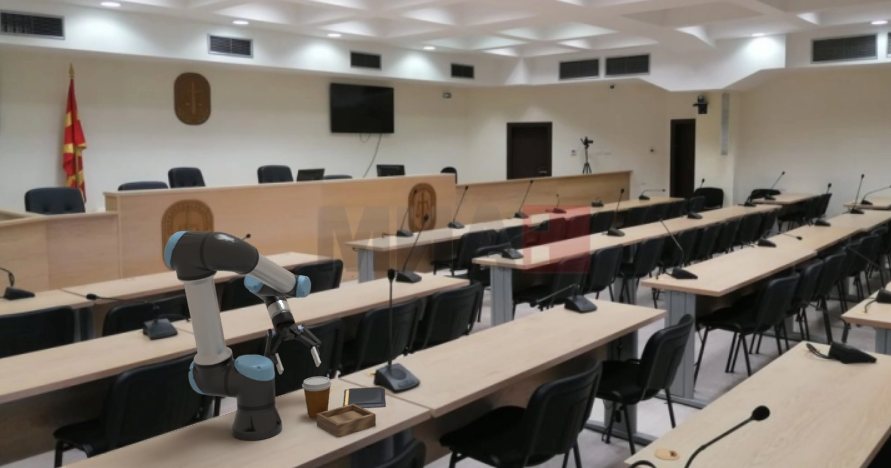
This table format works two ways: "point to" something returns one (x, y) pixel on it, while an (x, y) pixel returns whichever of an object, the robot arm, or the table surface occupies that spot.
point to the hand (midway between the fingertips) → (300, 368)
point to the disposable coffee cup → (316, 395)
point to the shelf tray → (346, 420)
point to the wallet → (365, 397)
